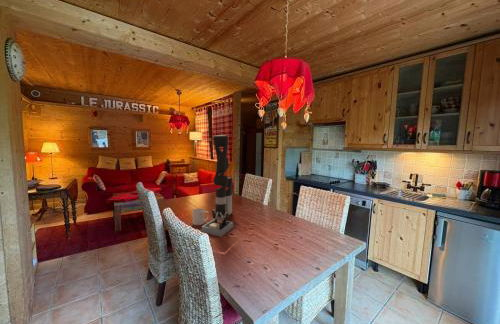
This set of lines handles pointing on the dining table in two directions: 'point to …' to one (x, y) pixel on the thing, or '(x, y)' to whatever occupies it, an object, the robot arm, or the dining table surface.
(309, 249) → the dining table surface
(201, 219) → the mug
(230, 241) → the dining table surface
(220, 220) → the tin
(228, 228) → the crate
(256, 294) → the dining table surface
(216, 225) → the lid
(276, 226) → the dining table surface
